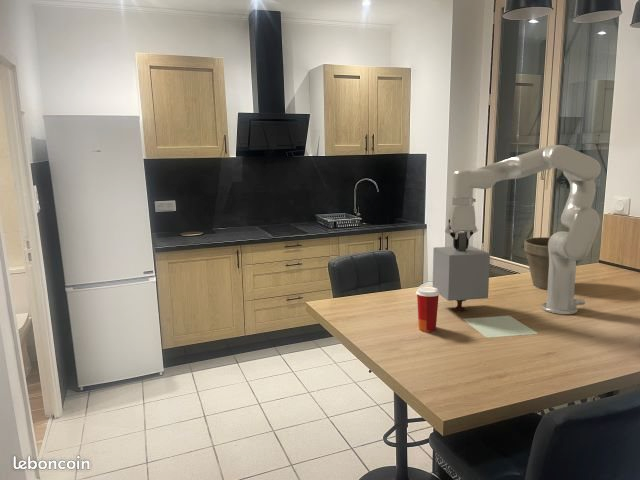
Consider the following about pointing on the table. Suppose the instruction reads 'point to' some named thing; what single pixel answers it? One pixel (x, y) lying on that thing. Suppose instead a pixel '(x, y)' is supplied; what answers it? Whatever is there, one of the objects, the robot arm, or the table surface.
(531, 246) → the plant pot
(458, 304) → the ice cream bowl
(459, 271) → the grey knobbed cube
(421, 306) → the coffee cup
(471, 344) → the table surface
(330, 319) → the table surface
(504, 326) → the mat
